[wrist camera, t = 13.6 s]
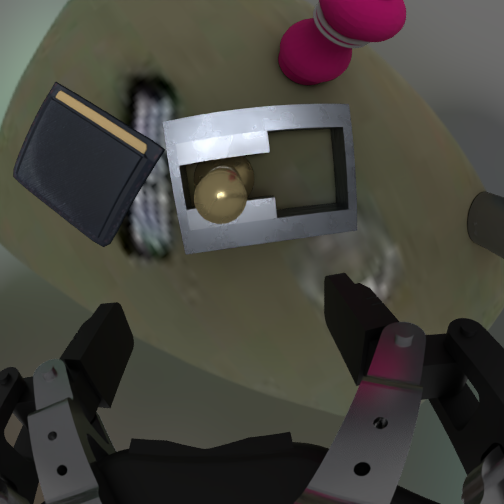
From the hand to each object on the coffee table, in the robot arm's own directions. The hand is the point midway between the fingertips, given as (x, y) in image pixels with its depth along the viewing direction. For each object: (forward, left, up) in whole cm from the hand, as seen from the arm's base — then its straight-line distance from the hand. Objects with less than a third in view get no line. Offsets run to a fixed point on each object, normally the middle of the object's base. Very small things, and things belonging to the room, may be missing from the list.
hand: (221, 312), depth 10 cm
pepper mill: (-11, -16, -23) cm, 30 cm away
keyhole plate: (-4, -3, -23) cm, 23 cm away
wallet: (+18, -9, -24) cm, 31 cm away
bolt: (0, -3, -23) cm, 23 cm away
